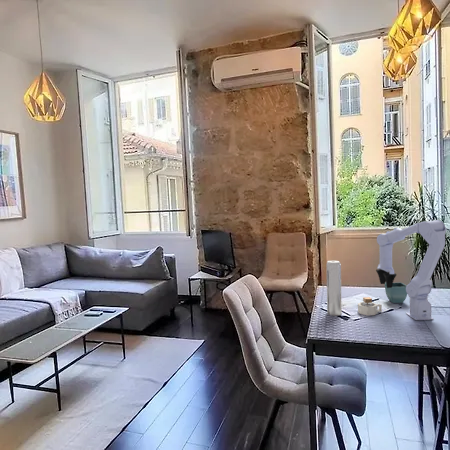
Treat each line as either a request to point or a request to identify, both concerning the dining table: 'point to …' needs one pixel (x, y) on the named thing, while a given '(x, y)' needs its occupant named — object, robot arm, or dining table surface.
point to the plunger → (367, 301)
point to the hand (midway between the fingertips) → (386, 285)
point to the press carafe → (369, 309)
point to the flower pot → (396, 292)
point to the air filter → (334, 288)
